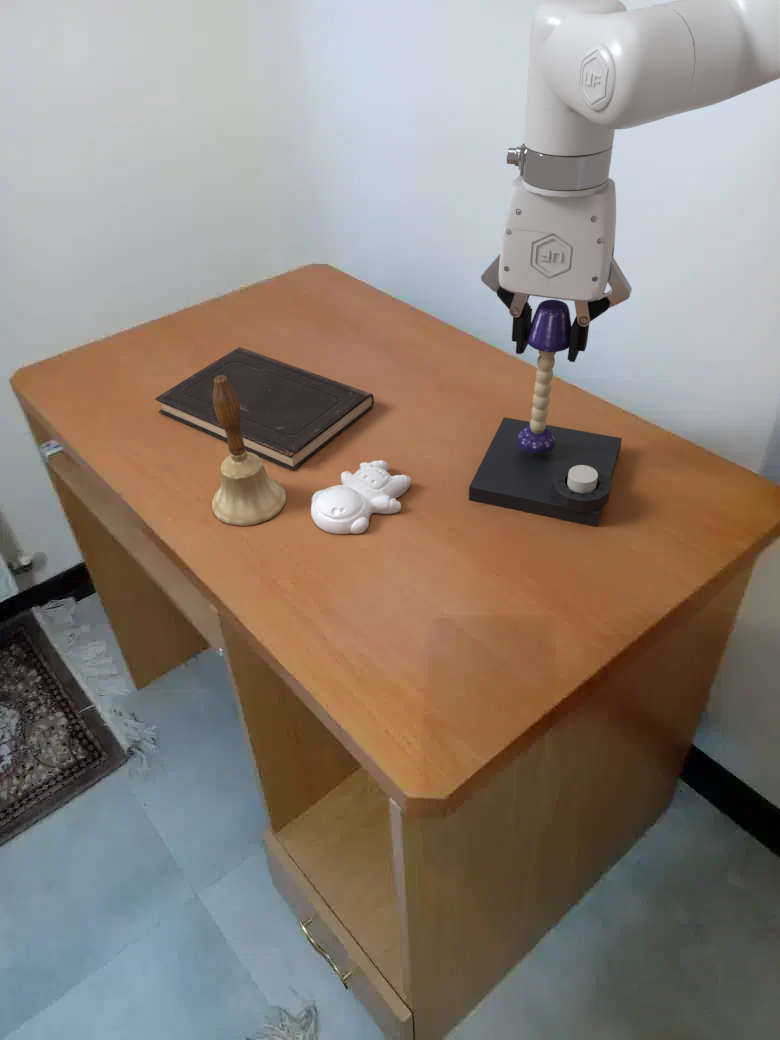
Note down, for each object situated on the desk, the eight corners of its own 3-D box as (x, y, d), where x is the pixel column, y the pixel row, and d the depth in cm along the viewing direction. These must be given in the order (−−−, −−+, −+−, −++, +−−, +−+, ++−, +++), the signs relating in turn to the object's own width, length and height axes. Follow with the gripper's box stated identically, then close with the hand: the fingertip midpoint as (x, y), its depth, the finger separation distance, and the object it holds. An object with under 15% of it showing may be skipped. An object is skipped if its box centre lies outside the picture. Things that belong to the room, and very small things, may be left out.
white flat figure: (427, 497, 87) (426, 476, 85) (339, 546, 82) (336, 524, 80) (378, 461, 93) (377, 440, 91) (293, 505, 87) (289, 484, 85)
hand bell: (249, 536, 84) (221, 409, 73) (196, 508, 88) (162, 384, 77) (301, 495, 89) (282, 370, 78) (249, 470, 92) (224, 348, 82)
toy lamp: (538, 426, 91) (550, 290, 80) (569, 443, 88) (586, 304, 77) (508, 443, 89) (517, 305, 78) (540, 461, 86) (553, 321, 75)
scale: (623, 451, 92) (628, 426, 90) (600, 530, 82) (605, 505, 80) (502, 429, 96) (504, 405, 94) (467, 502, 86) (468, 477, 84)
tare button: (598, 479, 83) (600, 467, 82) (593, 496, 81) (595, 485, 80) (570, 474, 84) (571, 462, 83) (564, 490, 82) (565, 479, 81)
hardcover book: (293, 471, 92) (290, 455, 90) (159, 413, 102) (155, 397, 101) (374, 406, 101) (373, 391, 100) (244, 359, 112) (241, 344, 110)
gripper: (460, 172, 69) (458, 357, 81) (660, 188, 64) (626, 383, 76) (484, 146, 74) (479, 324, 86) (671, 159, 69) (638, 346, 81)
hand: (548, 349), depth 81 cm, fingers closed on toy lamp, 4 cm apart
